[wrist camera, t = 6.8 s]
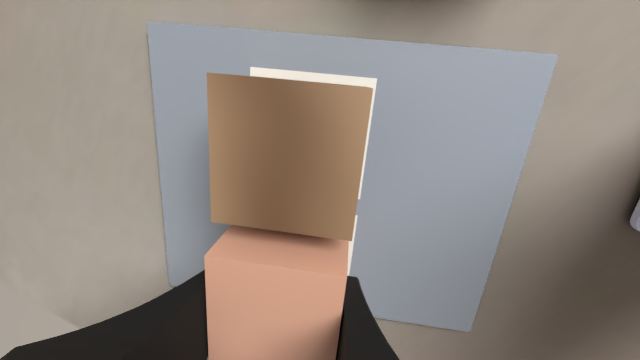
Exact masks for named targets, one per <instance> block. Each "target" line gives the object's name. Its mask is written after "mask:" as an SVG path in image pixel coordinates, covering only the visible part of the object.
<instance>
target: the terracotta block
mask: <svg viewBox="0 0 640 360" xmlns="http://www.w3.org/2000/svg"><path fill="white" fill-rule="evenodd" d="M348 248H349V241H346V240H339V239H331V238H324V237H317V236H310V235H302V234H295V233H288V232H281V231H273V230H266V229H259V228H251V227H244V226H237V225H231V226H230V227H229V228H228V229H227V230H226V232H225V233H224V234H223V235H222V236H221V237H220V238H219V239H218V241H217V242H216V243H215V244H214V245H213V246H212V247H211V249H210V250H209V251H208V252H207V253H206V254H205V255H204V262H205V286H206V309H207V332H208V356H209V360H336V353H337V346H338V339H339V331H340V324H341V317H342V310H343V303H344V296H345V289H346V282H347V270H348Z"/></svg>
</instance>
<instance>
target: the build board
mask: <svg viewBox="0 0 640 360" xmlns="http://www.w3.org/2000/svg"><path fill="white" fill-rule="evenodd" d="M147 31H148V43H149V55H150V67H151V78H152V90H153V102H154V113H155V125H156V137H157V148H158V160H159V172H160V183H161V195H162V207H163V218H164V230H165V242H166V253H167V265H168V277H169V285H171V286H179V285H180V284H182V283H184V282H185V281H187V280H189V279H190V278H192V277H193V276H195V275H197V274H198V273H200V272H201V271H203V270H205V262H204V255H205V254H206V253H207V252H208V251H209V250H210V249H211V247H212V246H213V245H214V244H215V243H216V242H217V241H218V239H219V238H220V237H221V236H222V235H223V234H224V233H225V232H226V230H227V229H228V228H229V227H230V226H231V225H230V224H222V223H215V222H211V204H210V170H209V136H208V103H207V73H219V74H232V75H245V76H257V77H268V78H279V79H289V80H300V81H310V82H321V83H331V84H342V85H353V86H363V87H370V88H373V94H372V101H371V108H370V115H369V122H368V130H367V137H366V144H365V151H364V158H363V165H362V172H361V180H360V187H359V194H358V201H357V208H356V215H355V223H354V230H353V237H352V241H349V248H348V270H347V276H353V277H357V278H358V279H359V282H360V286H361V289H362V292H363V294H364V297H365V299H366V302H367V304H368V306H369V308H370V310H371V313H372V315H373V317H374V318H381V319H387V320H394V321H400V322H406V323H413V324H419V325H425V326H432V327H438V328H444V329H451V330H457V331H463V332H471V329H472V325H473V322H474V319H475V316H476V313H477V310H478V307H479V303H480V300H481V297H482V294H483V291H484V288H485V285H486V281H487V278H488V275H489V272H490V269H491V266H492V263H493V259H494V256H495V253H496V250H497V247H498V244H499V241H500V237H501V234H502V231H503V228H504V225H505V222H506V219H507V215H508V212H509V209H510V206H511V203H512V200H513V197H514V193H515V190H516V187H517V184H518V181H519V178H520V175H521V171H522V168H523V165H524V162H525V159H526V156H527V153H528V150H529V146H530V143H531V140H532V137H533V134H534V131H535V128H536V124H537V121H538V118H539V115H540V112H541V109H542V106H543V102H544V99H545V96H546V93H547V90H548V87H549V84H550V80H551V77H552V74H553V71H554V68H555V65H556V62H557V58H558V55H559V54H547V53H535V52H522V51H510V50H498V49H486V48H473V47H461V46H449V45H437V44H424V43H412V42H400V41H388V40H375V39H363V38H351V37H339V36H327V35H314V34H302V33H290V32H278V31H265V30H253V29H241V28H229V27H216V26H204V25H192V24H180V23H167V22H155V21H147Z"/></svg>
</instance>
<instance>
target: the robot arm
mask: <svg viewBox="0 0 640 360" xmlns="http://www.w3.org/2000/svg"><path fill="white" fill-rule="evenodd" d="M630 224H631V226H632V227H633V228H634V229H636V230H638V231H640V199H639V201H638V203H637V205H636V208H635V210H634V212H633V214H632V216H631V219H630ZM207 357H208V332H207V309H206V286H205V270H203V271H201V272H200V273H198V274H197V275H195V276H193V277H192V278H190V279H189V280H187V281H185V282H184V283H182V284H180V285H179V286H177V287H175V288H173V289H172V290H170V291H168V292H166V293H164V294H163V295H161V296H159V297H157V298H155V299H153V300H151V301H149V302H147V303H145V304H143V305H141V306H139V307H136V308H134V309H132V310H130V311H127V312H125V313H122V314H120V315H117V316H115V317H112V318H110V319H107V320H105V321H102V322H100V323H97V324H94V325H91V326H88V327H85V328H82V329H79V330H76V331H73V332H70V333H67V334H64V335H60V336H57V337H53V338H49V339H46V340H42V341H38V342H34V343H30V344H27V345H23V346H19V347H16V348H14V349H13V350H11V351H10V352H9V353H7V354H6V355H5V356H3V357H2V358H1V359H0V360H206V359H207ZM336 360H399V358H398V357H397V355H396V354H395V352H394V351H393V349H392V348H391V346H390V345H389V343H388V342H387V340H386V338H385V337H384V335H383V333H382V332H381V330H380V328H379V326H378V324H377V323H376V321H375V319H374V317H373V315H372V313H371V310H370V308H369V306H368V304H367V302H366V299H365V297H364V294H363V292H362V289H361V286H360V282H359V279H358V278H357V277H353V276H347V282H346V289H345V296H344V303H343V310H342V317H341V324H340V331H339V339H338V346H337V353H336Z"/></svg>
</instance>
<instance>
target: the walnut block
mask: <svg viewBox="0 0 640 360" xmlns="http://www.w3.org/2000/svg"><path fill="white" fill-rule="evenodd" d="M372 94H373V88H370V87H363V86H353V85H342V84H331V83H321V82H310V81H300V80H289V79H279V78H268V77H257V76H245V75H232V74H219V73H207V103H208V136H209V170H210V204H211V222H215V223H222V224H230V225H237V226H244V227H251V228H259V229H266V230H273V231H281V232H288V233H295V234H302V235H310V236H317V237H324V238H331V239H339V240H346V241H352V237H353V230H354V223H355V215H356V208H357V201H358V194H359V187H360V180H361V172H362V165H363V158H364V151H365V144H366V137H367V130H368V122H369V115H370V108H371V101H372Z"/></svg>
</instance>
